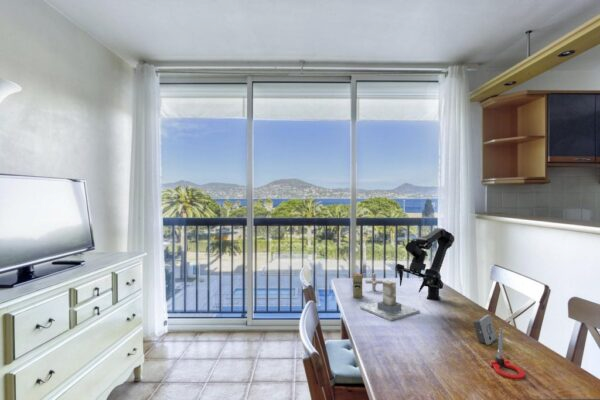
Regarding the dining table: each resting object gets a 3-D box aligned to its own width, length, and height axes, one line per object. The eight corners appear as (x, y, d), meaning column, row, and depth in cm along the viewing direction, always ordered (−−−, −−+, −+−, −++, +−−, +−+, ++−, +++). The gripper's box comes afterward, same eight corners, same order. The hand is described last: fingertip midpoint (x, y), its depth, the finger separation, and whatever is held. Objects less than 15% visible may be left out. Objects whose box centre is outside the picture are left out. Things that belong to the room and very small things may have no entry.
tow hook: (531, 379, 105) (509, 363, 114) (533, 339, 104) (510, 326, 113) (506, 382, 104) (486, 365, 113) (508, 341, 103) (487, 327, 112)
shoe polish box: (362, 297, 187) (362, 276, 186) (353, 297, 188) (353, 275, 187) (362, 295, 191) (362, 273, 191) (353, 294, 192) (353, 273, 192)
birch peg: (389, 306, 169) (389, 280, 169) (395, 308, 166) (395, 282, 165) (382, 307, 167) (382, 281, 167) (389, 310, 163) (389, 283, 163)
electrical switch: (488, 346, 127) (486, 321, 128) (474, 343, 131) (471, 318, 132) (497, 338, 134) (494, 315, 134) (483, 336, 137) (481, 312, 138)
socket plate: (388, 301, 180) (388, 294, 180) (419, 312, 163) (419, 305, 163) (360, 308, 169) (360, 301, 169) (390, 320, 153) (390, 313, 153)
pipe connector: (381, 288, 205) (381, 271, 205) (383, 293, 195) (383, 275, 195) (364, 287, 206) (364, 271, 206) (366, 292, 196) (366, 275, 196)
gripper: (400, 249, 171) (390, 278, 165) (438, 261, 163) (430, 292, 158) (399, 256, 180) (391, 283, 175) (436, 268, 173) (428, 297, 168)
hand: (409, 289), depth 169 cm, fingers open, 9 cm apart
